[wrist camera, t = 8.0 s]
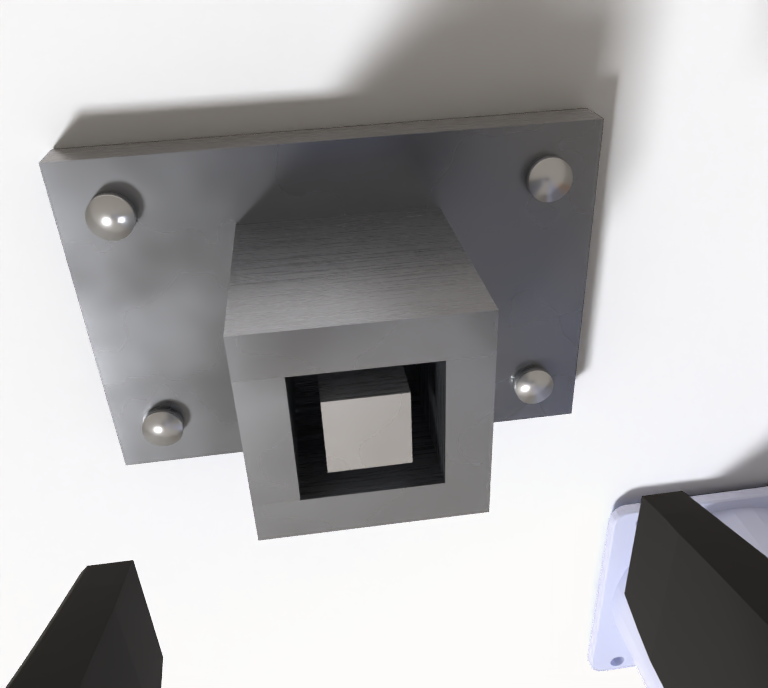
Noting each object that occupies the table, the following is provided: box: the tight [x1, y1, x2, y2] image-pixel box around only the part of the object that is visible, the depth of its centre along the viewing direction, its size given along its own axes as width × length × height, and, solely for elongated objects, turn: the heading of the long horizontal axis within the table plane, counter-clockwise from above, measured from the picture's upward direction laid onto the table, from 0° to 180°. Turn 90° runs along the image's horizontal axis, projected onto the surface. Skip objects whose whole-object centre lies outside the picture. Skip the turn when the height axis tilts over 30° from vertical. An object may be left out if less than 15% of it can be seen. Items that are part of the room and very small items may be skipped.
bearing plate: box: [39, 108, 604, 473], centre depth 16 cm, size 12×8×6 cm, turn 92°
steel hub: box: [223, 208, 499, 540], centre depth 15 cm, size 5×5×5 cm
